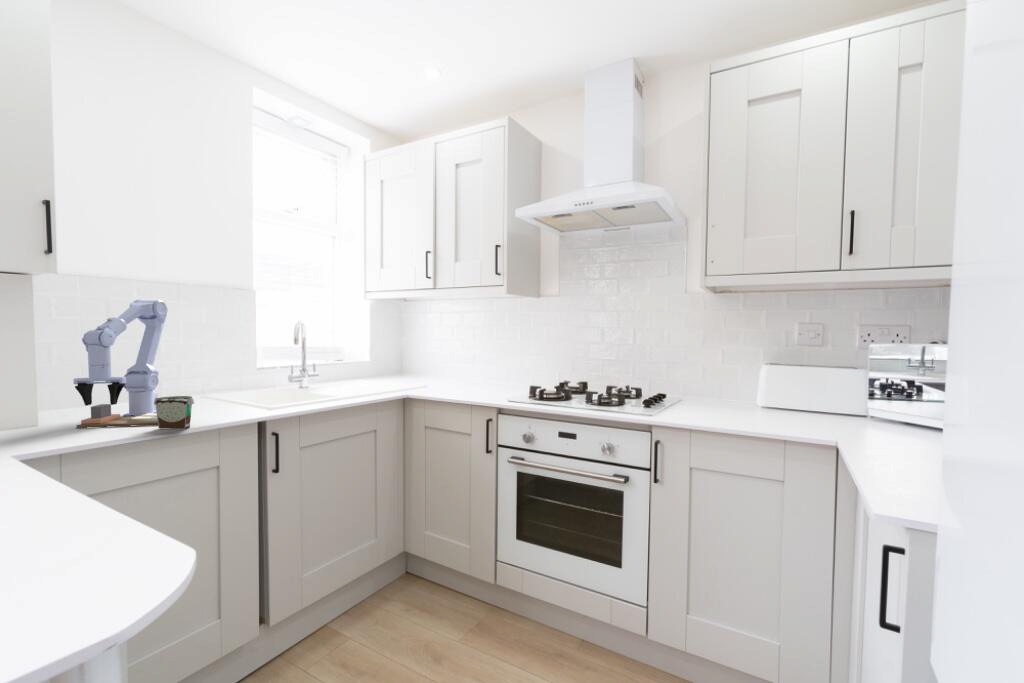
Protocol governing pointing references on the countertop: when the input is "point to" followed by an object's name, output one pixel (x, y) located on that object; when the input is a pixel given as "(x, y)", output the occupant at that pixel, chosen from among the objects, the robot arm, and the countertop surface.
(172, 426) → the food container
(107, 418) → the pink grey stepped block
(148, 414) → the board
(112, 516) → the countertop surface
